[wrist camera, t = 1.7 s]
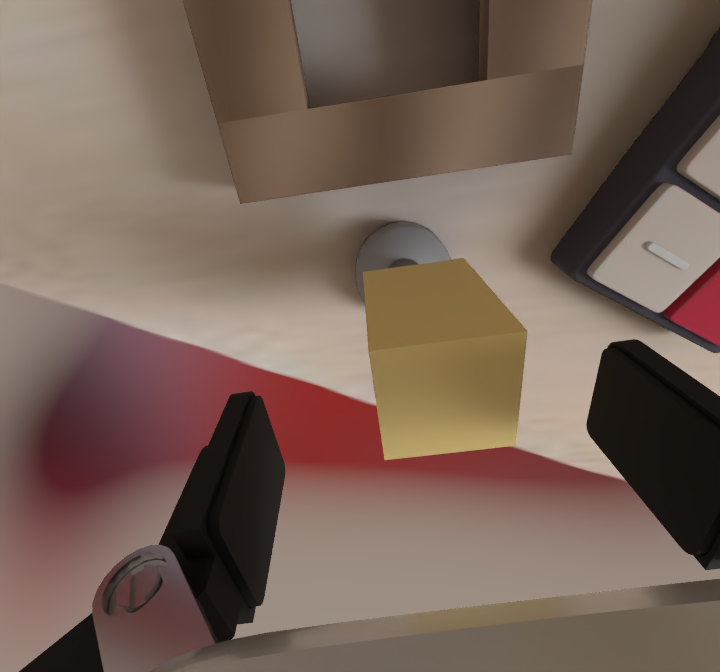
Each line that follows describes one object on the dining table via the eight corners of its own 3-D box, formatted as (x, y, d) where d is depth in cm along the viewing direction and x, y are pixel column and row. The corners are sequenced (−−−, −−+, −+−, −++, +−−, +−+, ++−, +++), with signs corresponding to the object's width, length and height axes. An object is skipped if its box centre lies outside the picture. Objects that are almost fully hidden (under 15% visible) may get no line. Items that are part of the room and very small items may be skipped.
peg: (444, 214, 19) (549, 310, 9) (446, 302, 21) (530, 455, 11) (349, 228, 19) (346, 336, 9) (362, 313, 22) (370, 472, 12)
